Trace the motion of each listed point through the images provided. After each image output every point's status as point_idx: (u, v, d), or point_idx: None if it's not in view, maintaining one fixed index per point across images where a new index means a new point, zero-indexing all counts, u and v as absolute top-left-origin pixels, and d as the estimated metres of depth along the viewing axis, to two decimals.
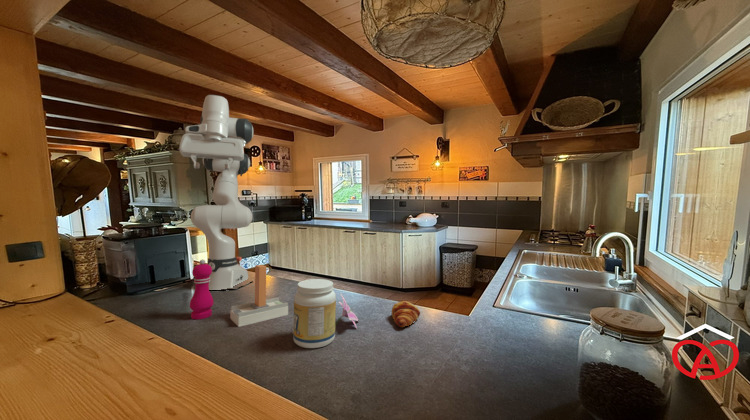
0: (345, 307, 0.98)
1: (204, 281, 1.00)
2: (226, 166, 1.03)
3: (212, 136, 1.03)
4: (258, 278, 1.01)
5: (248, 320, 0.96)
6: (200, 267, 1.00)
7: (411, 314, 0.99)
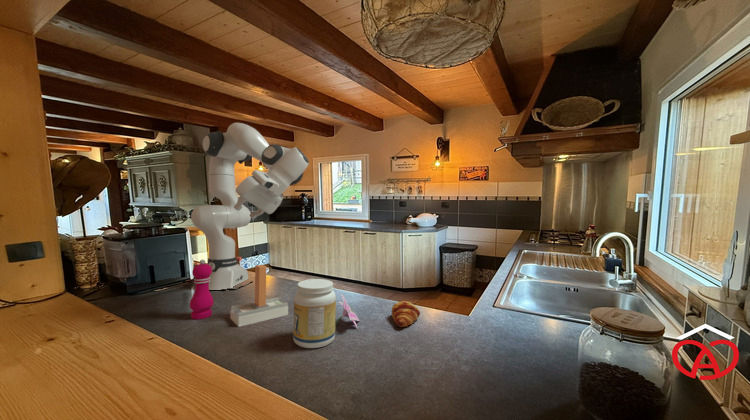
0: (345, 307, 0.98)
1: (204, 281, 1.00)
2: (254, 217, 1.06)
3: (271, 195, 1.02)
4: (258, 278, 1.01)
5: (248, 320, 0.96)
6: (200, 267, 1.00)
7: (411, 314, 0.99)
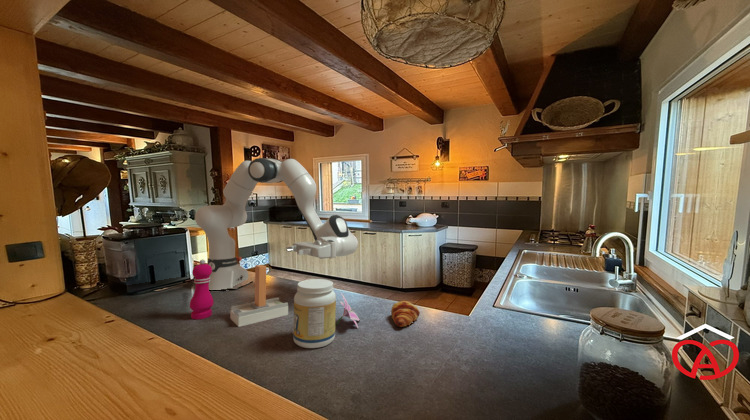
0: (346, 307, 0.99)
1: (204, 281, 1.00)
2: None
3: None
4: (258, 278, 1.01)
5: (248, 320, 0.96)
6: (200, 267, 1.00)
7: (410, 314, 0.99)
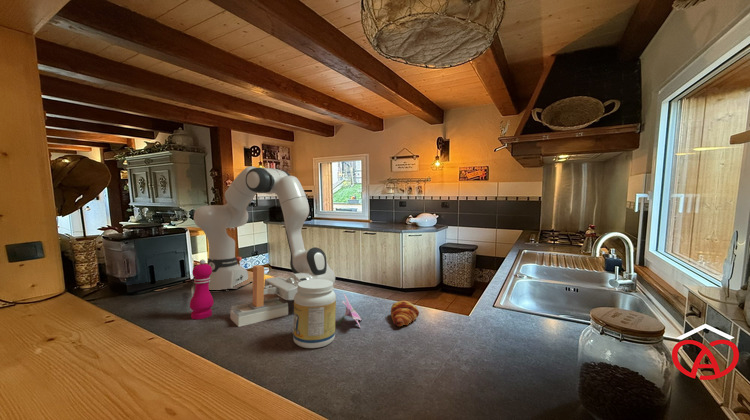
0: (348, 306, 0.99)
1: (204, 281, 1.00)
2: None
3: None
4: (256, 278, 1.00)
5: (248, 320, 0.96)
6: (200, 267, 1.00)
7: (409, 314, 0.99)
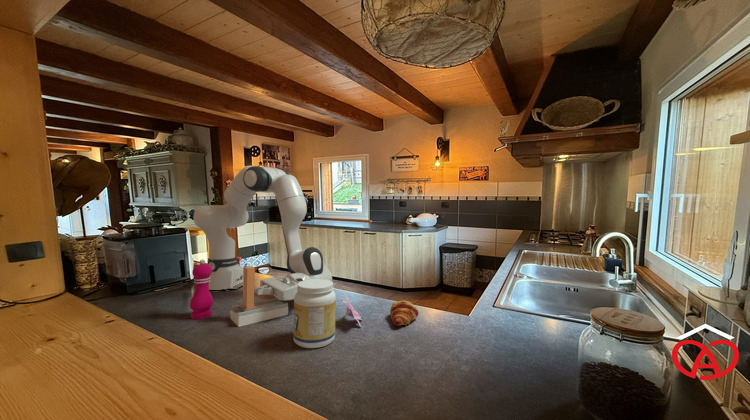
0: (349, 306, 0.99)
1: (204, 281, 1.00)
2: None
3: None
4: (246, 280, 0.98)
5: (248, 320, 0.96)
6: (200, 267, 1.00)
7: (409, 313, 0.99)
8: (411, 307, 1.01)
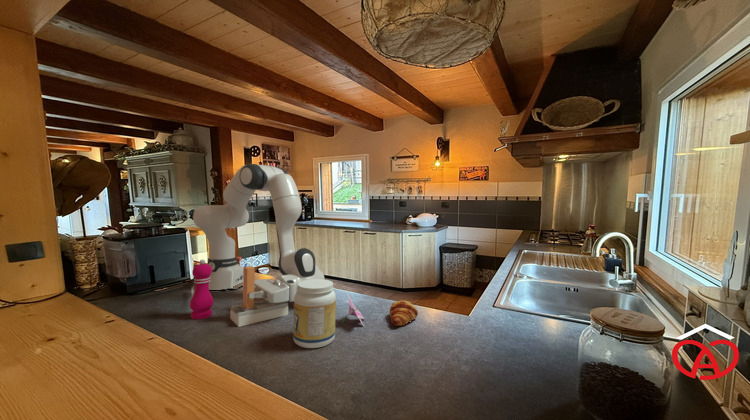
0: (351, 306, 1.00)
1: (204, 281, 1.00)
2: None
3: None
4: (246, 280, 0.98)
5: (248, 320, 0.96)
6: (200, 267, 1.00)
7: (408, 313, 0.99)
8: (410, 307, 1.02)
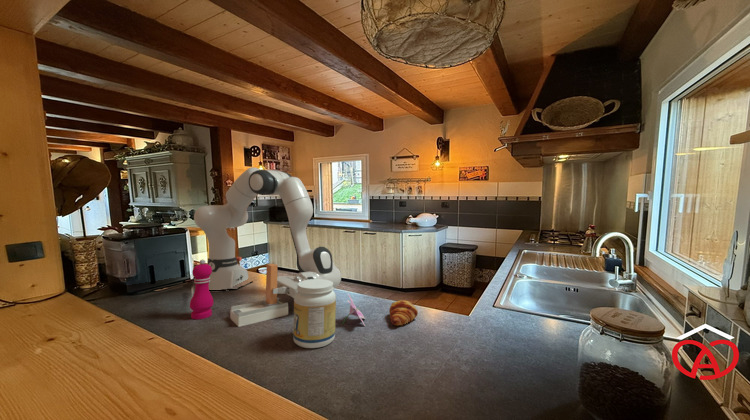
0: (352, 305, 1.00)
1: (204, 281, 1.00)
2: None
3: None
4: (269, 276, 1.04)
5: (248, 320, 0.96)
6: (200, 267, 1.00)
7: (407, 313, 0.99)
8: (410, 307, 1.02)
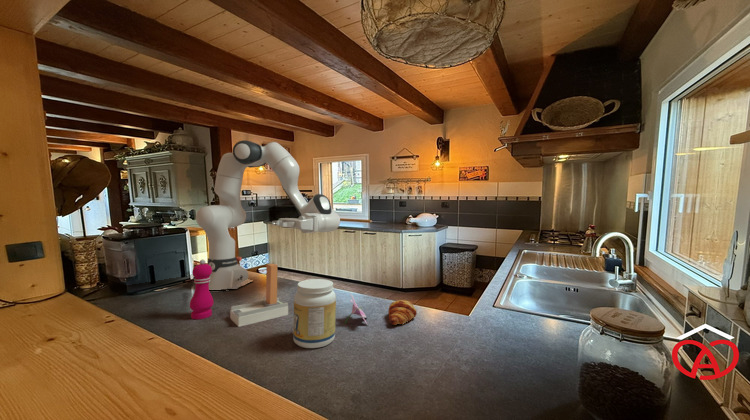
0: (354, 305, 1.01)
1: (204, 281, 1.00)
2: None
3: (301, 230, 1.27)
4: (269, 276, 1.04)
5: (248, 320, 0.96)
6: (200, 267, 1.00)
7: (405, 313, 1.00)
8: (409, 307, 1.02)
